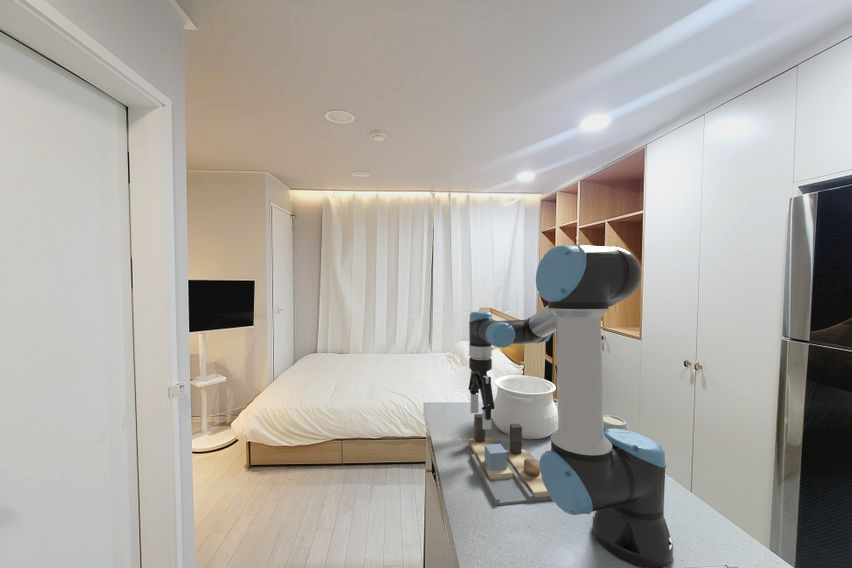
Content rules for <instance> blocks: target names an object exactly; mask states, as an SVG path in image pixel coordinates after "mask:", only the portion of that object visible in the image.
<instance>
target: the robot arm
mask: <svg viewBox="0 0 852 568" xmlns="http://www.w3.org/2000/svg"><path fill="white" fill-rule="evenodd" d="M641 279H642V270H641V266H640V262H638V260H637V259H636V257H635V256H634V255H633V254H632V253H631V252H629V251H627V250H626V249H623V248H621V247H616V246H600V245H598V246H597V245H585V244H565V245H564V244H563V245H557V246H554V247H552V248H550V249H548V251H547V252H546V253H544V255H543V257H542V258H541V259H540V261H539V263H538V266H537V269H536V272H535V286H536V289H537V292H538V295H539V296H540V297H541V298H542V299H543V300H545V301H546V302H547V305H546V306H545V307H543V308H542V309H540V310H539V311H537V312H536V313H534V314H533V315H532V316H530V317H528V318H526V319H514V320H507V319H506V320H494V319H493V315H492V313H491V312H490V311H482V310H479V311H472V312H470V314H469V322H468V324H469V325H468V327H469V328H468V329H469V330H468V332H469V335H468V336H469V345H468V346H469V347H468V349H469V350H468V352H469V353H468V356H469V358H468V359H469V360H468V361H469V362H468V363H469V364H468V365H469V367H468V368H469V369H470V378H469V385H468V390H469V394H470V414H476V413H477V414H479V394H480V395H481V400H482V405H483V407H481V410H482V414H483V430H484V429H485V430H492V421H493V418H492V409H494V395H493V390H492V389H493V388H492V387H493V386H492V378H491V377H492V376H488V372H489V371H491V370H492V369H493V363H492V362H493V359H492V356H493V352H492V351H494V350H493V349H494V348H493V347H496V348H502V349H503V348H504V349H505V348H508V347H509V346H511V345H523V344H525V345H526V344H541V343H546V342H549V341H550V338H551V337H552V335H553V333H555V334H556V335H555V337H556V338H555V339H556V379H557V382H556V384H557V386H556V387H557V388H556V389H557V412H558V425H557V427H558V429H556V430H555V431H554V432H553V433H552V434H551V435H550V446H551V447H550V448H551V449H550V450H546V451H545V452H543V454H542V455H541V456H540V458H539V462H540V473H541V477H542V480H543V483H544V485H545V487H546V489H547V491H548V493H549V495H550V497H551V498H552V500H551V501H553V502H554V503H555V505H556V506H557V507H558V508H559V509H560V510H561V511H563V512H565V513H566V514H568V515H571V516H579V515H590V514H591V513H594V514H593V516H592V533H593V536H594V537H595V539H596V540H597V542H598V543H599V545H600V546H601V547H603V548H604V550H606V551H607V552H608V553H610V555H613V557H615V558H617V559H619V560H621V561H623V562H625V563H627V564H630V565H632V566H635V567H639V568H666V567H667V566H670V564H671V563H672V561H673V558H674V544H673V541H672V538H671V535H670V531H669V528H668V525H667V522H666V518H665V511H664V509H665V508H664V507H665V485H666V484H665V483H666V468H667V464H666V453H665V450H664V449H663V447H662V446H661V444H659V443H657V441H654V440H653V439H651V438H649V437H647V436H645V435H642V434H640V433H637V432H634V431H631V430H623V429H614V428H612V429H606V430H605V431H603V416H604V403H603V402H604V401H603V400H604V399H603V397H604V396H603V364H602V363H603V362H602V360H603V358H602V355H603V354H602V325H601V324H602V323H601V320H602V319H601V318H602V317H603V316H604V315H605V314H606V313H607V312H608V311H609V310H610V307H612V306H614V305H616V304H618V303H620V302H621V301H623V300H625V299H627V298H628V297H630V296H631V295H633V294H634V293H635V292H636V290H637V289H638V287H639V286H640V284H641V283H640V282H641Z"/></svg>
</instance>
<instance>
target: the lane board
mask: <svg viewBox="0 0 852 568" xmlns="http://www.w3.org/2000/svg"><path fill="white" fill-rule="evenodd" d="M524 450H525V451H526V452H527V453H528V454H529V456H530V457H531V458H533V459H536V457H535V456H534V455H533V454H532V453H531V452H530V450H528V449H524ZM470 459H471V461H472V463H473V465H474V466H475V468H476V471H477V472H478V474H479V476H480V478H481V480H482V482H483V484H484V486H485V488H486V490H487V491H488V493H489V495H490V497H491V499H492V501H493V503H494V505H495V506H503V505H514V504H515V505H516V504H523V503H524V504H525V503H533V502H543V501H553V500H552V498H551V497H550V496H548V497H538V498H534V497H533V495H532V494H531V492H530V491H529V490H528V488H527V487H526V485H525V484H524V483H523V481H522V480H521V478H520V477H519V476H518V474H517V473H516V471H515V470H514V469H513V467H512V466H511V464H510V463H509V462H508V460H507V466H508V467H509V468H510V470H511V471H512V473H513V478H506V479H495V480H489V479H488V477H487V475H486V474H485V472H484V470H483V468H482V467H481V465H480V463H479V461H478V459H477V458H476V456H475V454H474V453H471V455H470Z"/></svg>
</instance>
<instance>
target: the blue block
mask: <svg viewBox="0 0 852 568" xmlns="http://www.w3.org/2000/svg"><path fill="white" fill-rule="evenodd" d="M506 451H507V450H506V449H505V448H504V446H503V445H502V444H501V443H495V444H493V443H492V444H491V445H485V463H486V465H487V466H488V468H489V470H490V471H493V470H505V469H507V452H506Z"/></svg>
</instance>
